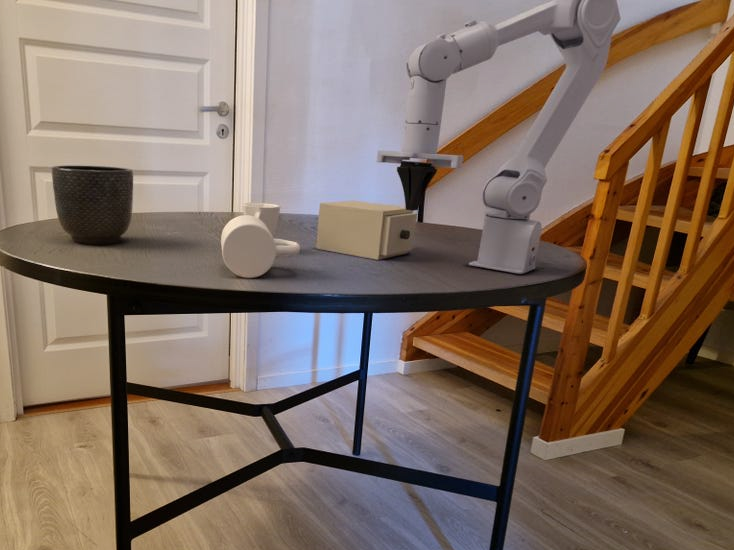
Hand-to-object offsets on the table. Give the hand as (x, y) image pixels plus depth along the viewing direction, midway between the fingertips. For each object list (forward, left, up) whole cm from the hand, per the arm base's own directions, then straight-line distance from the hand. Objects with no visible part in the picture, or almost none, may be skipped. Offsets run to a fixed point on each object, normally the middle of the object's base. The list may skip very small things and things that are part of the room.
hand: (411, 209), depth 105 cm
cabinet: (+12, -6, -9) cm, 16 cm away
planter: (+48, +30, -10) cm, 57 cm away
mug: (+12, +26, -10) cm, 30 cm away
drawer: (+10, -5, -9) cm, 14 cm away
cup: (+24, +12, -10) cm, 28 cm away
